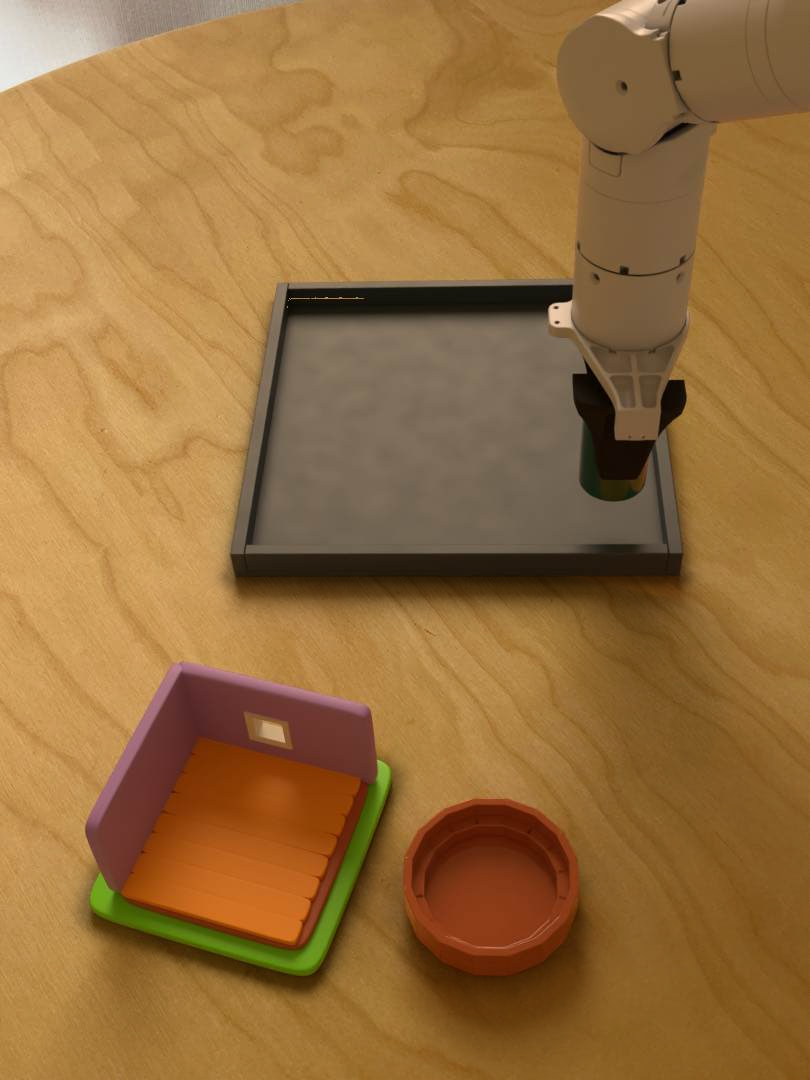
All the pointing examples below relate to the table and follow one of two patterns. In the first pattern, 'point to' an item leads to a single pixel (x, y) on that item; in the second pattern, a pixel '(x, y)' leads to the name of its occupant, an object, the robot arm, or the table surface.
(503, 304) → the tray
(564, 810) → the table surface
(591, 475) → the bottle
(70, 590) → the table surface
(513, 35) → the table surface
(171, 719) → the miniature room corner
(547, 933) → the dish
